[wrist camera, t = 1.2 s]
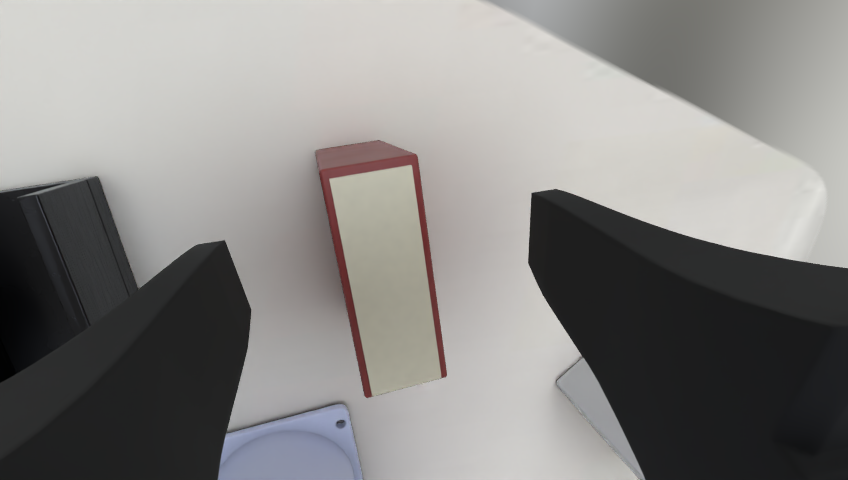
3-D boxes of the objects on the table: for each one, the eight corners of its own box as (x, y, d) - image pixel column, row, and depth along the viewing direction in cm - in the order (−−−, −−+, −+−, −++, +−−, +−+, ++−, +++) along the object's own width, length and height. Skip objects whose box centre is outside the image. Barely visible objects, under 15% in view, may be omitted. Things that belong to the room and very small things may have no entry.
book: (405, 297, 23) (448, 378, 16) (347, 310, 22) (365, 401, 15) (380, 139, 21) (418, 153, 14) (314, 149, 20) (318, 170, 13)
